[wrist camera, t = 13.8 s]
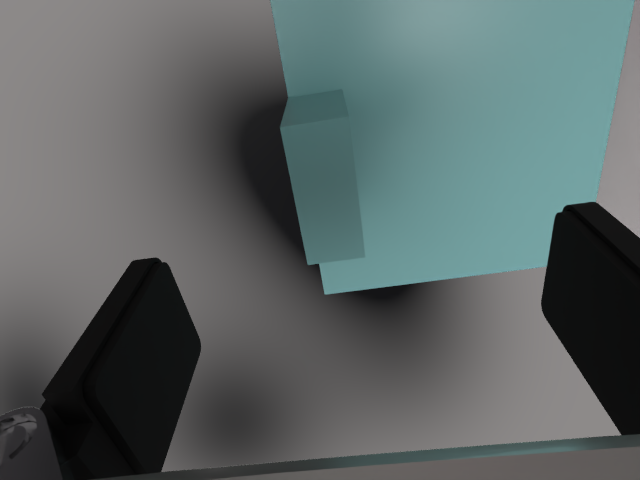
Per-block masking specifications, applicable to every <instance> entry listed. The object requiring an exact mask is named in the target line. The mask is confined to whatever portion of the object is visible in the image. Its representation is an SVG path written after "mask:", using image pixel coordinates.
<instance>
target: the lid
mask: <svg viewBox="0 0 640 480" xmlns="http://www.w3.org/2000/svg"><path fill="white" fill-rule="evenodd" d="M634 1H635V0H270V2H271V8H272V13H273V18H274V24H275V29H276V35H277V40H278V45H279V50H280V56H281V62H282V67H283V72H284V78H285V83H286V88H287V94H288V101H287V104H286V108H285V111H284V115H283V118H282V122H281V125H280V130H281V135H282V140H283V145H284V150H285V155H286V160H287V165H288V170H289V175H290V179H291V185H292V190H293V194H294V200H295V204H296V209H297V214H298V219H299V224H300V229H301V234H302V239H303V244H304V249H305V254H306V259H307V264H308V265H312V264H319V266H320V271H321V277H322V282H323V288H324V293H325V294H333V293H341V292H349V291H357V290H364V289H372V288H380V287H388V286H396V285H404V284H412V283H420V282H427V281H436V280H444V279H451V278H459V277H467V276H475V275H483V274H491V273H498V272H507V271H515V270H522V269H530V268H539V267H546V266H547V262H548V256H549V250H550V243H551V237H552V231H553V224H554V219H555V215H556V214H557V213H558V212H562V210H563V208H564V207H565V206H566V205H571V204H578V203H586V202H596V198H597V193H598V187H599V182H600V177H601V172H602V167H603V161H604V156H605V151H606V146H607V141H608V135H609V130H610V125H611V120H612V115H613V110H614V104H615V99H616V94H617V89H618V84H619V78H620V73H621V68H622V63H623V58H624V53H625V47H626V42H627V37H628V32H629V27H630V21H631V16H632V11H633V6H634Z"/></svg>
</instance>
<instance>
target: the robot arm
mask: <svg viewBox="0 0 640 480" xmlns="http://www.w3.org/2000/svg"><path fill="white" fill-rule="evenodd" d="M541 306H542V311H543V314H544V316H545V318H546V319H547V321H548V323H549V324H550V326H551V327H552V329H553V330H554V332H555V333H556V335H557V336H558V338H559V339H560V341H561V343H562V344H563V345H564V347H565V349H566V350H567V352H568V353H569V355H570V356H571V358H572V359H573V361H574V363H575V364H576V365H577V367H578V368H579V370H580V372H581V373H582V375H583V376H584V378H585V379H586V381H587V382H588V384H589V385H590V387H591V389H592V390H593V392H594V393H595V395H596V396H597V398H598V399H599V401H600V402H601V404H602V406H603V407H604V409H605V410H606V412H607V413H608V415H609V416H610V418H611V419H612V421H613V422H614V424H615V426H616V427H617V429H618V430H619V432H620V433H621V435H620V436H603V437H591V438H590V437H589V438H576V439H563V440H551V441H550V440H549V441H536V442H523V443H509V444H496V445H483V446H470V447H457V448H445V449H432V450H419V451H406V452H394V453H381V454H370V455H358V456H346V457H334V458H320V459H308V460H297V461H284V462H272V463H262V464H249V465H238V466H227V467H215V468H203V469H192V470H180V471H169V472H161V470H162V467H163V464H164V461H165V458H166V455H167V452H168V449H169V446H170V443H171V440H172V437H173V434H174V431H175V428H176V425H177V422H178V419H179V416H180V413H181V410H182V407H183V404H184V400H185V398H186V395H187V391H188V389H189V386H190V382H191V380H192V376H193V373H194V370H195V367H196V364H197V361H198V358H199V355H200V351H201V343H200V339H199V336H198V334H197V331H196V329H195V326H194V324H193V322H192V319H191V317H190V315H189V312H188V310H187V307H186V305H185V303H184V300H183V298H182V296H181V293H180V291H179V288H178V286H177V284H176V282H175V279H174V277H173V274H172V272H171V269H170V267H169V265H168V264H167V263H165V262H163V263H162V262H161V260H160V259H158V258H148V259H141V260H135V261H132V262H131V263H130V265H129V266H128V268H127V269H126V271H125V272H124V274H123V275H122V277H121V278H120V280H119V281H118V283H117V284H116V286H115V287H114V288H113V290H112V292H111V293H110V294H109V296H108V297H107V299H106V300H105V302H104V303H103V305H102V306H101V308H100V309H99V311H98V312H97V314H96V315H95V317H94V318H93V319H92V321H91V322H90V324H89V326H88V327H87V328H86V330H85V331H84V333H83V334H82V336H81V337H80V339H79V340H78V342H77V343H76V345H75V346H74V348H73V349H72V350H71V352H70V353H69V355H68V356H67V358H66V359H65V361H64V362H63V364H62V366H61V367H60V368H59V370H58V371H57V373H56V374H55V375H54V377H53V378H52V380H51V381H50V383H49V384H48V386H47V387H46V389H45V390H44V392H43V393H42V395H43V397H44V398H45V399H46V400H45V402H44V403H43V405H42V407H41V408H40V409H38V408H35V407H22V408H19V409H15V410H12V411H10V412H7V413H5V414H3V415H1V416H0V480H640V238H639V237H638V236H636V235H635V234H634V233H633V232H632V231H630V230H629V229H628V228H627V227H626V226H624V225H623V224H622V223H621V222H620V221H618V220H617V219H616V218H615V217H613V216H612V215H611V214H610V213H609V212H607V211H606V210H605V209H604V208H603V207H601V206H600V205H599V204H598V203H596V202H586V203H578V204H571V205H566V206H565V207H564V208H563V210H562V212H558V213H557V214H556V215H555V219H554V224H553V231H552V237H551V243H550V250H549V256H548V262H547V269H546V276H545V282H544V288H543V294H542V300H541Z"/></svg>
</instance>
